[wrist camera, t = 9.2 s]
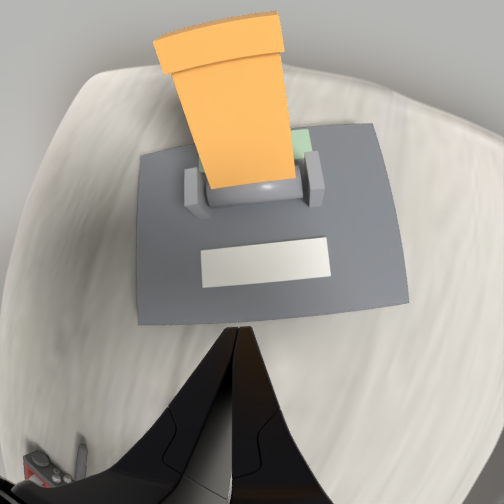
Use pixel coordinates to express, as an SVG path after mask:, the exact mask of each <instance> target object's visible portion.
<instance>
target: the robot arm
mask: <svg viewBox="0 0 504 504" xmlns="http://www.w3.org/2000/svg"><path fill="white" fill-rule="evenodd" d="M168 407H169V408H168ZM168 407H167V408H166V409H165V411H164V412H163V413H162V415H161V416H160V417H159V418H158V420H157V421H156V422H155V423H154V424H153V426H152V427H151V428H150V429H149V430H148V431H147V432H146V434H145V435H144V436H143V437H142V438H141V439H140V440H139V441H138V442H137V443H136V444H135V445H134V446H133V447H132V448H131V449H130V450H129V451H128V452H127V453H126V454H125V455H124V456H123V457H122V458H121V459H120V460H119V461H118V462H117V463H116V464H114V465H113V466H112V467H110V468H109V469H107V470H105V471H103V472H101V473H98V474H96V475H93V476H90V477H87V478H84V479H81V480H77V481H74V482H71V483H68V484H64V485H61V486H57V487H44V486H42V485H40V484H38V483H36V482H34V481H32V480H30V479H26V480H24V481H22V482H19V483H17V484H14V483H12V482H11V481H9V480H7V479H5V478H3V477H2V476H0V504H227V500H226V499H227V498H228V491H229V485H230V478H231V472H232V479H233V480H232V493H231V500H230V504H334V503H333V502H332V501H331V499H330V498H329V497H328V495H327V494H326V493H325V491H324V490H323V488H322V487H321V485H320V484H319V482H318V481H317V479H316V477H315V476H314V474H313V472H312V471H311V469H310V467H309V466H308V464H307V462H306V461H305V459H304V457H303V456H302V454H301V452H300V451H299V449H298V447H297V445H296V443H295V441H294V439H293V437H292V436H291V434H290V431H289V429H288V426H287V424H286V422H285V419H284V416H283V414H282V411H281V409H280V406H279V403H278V400H277V397H276V395H275V392H274V389H273V386H272V383H271V380H270V378H269V375H268V372H267V369H266V366H265V363H264V361H263V358H262V355H261V352H260V349H259V346H258V343H257V340H256V338H255V335H254V332H253V329H252V327H251V326H243V327H239V328H238V327H227V328H225V329H224V331H223V332H222V333H221V335H220V336H219V338H218V339H217V340H216V342H215V343H214V344H213V346H212V347H211V349H210V350H209V351H208V353H207V354H206V355H205V357H204V358H203V360H202V361H201V362H200V364H199V365H198V366H197V368H196V369H195V370H194V372H193V373H192V374H191V376H190V377H189V379H188V380H187V381H186V383H185V384H184V385H183V387H182V388H181V389H180V391H179V392H178V393H177V395H176V396H175V397H174V399H173V400H172V401H171V403H170V404H169V405H168Z"/></svg>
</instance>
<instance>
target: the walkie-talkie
mask: <svg viewBox="0 0 504 504" xmlns="http://www.w3.org/2000/svg"><path fill="white" fill-rule="evenodd" d="M87 453H88V450H87V447H86V445H85V444H80V445H79V446H78V453H77V462H76V473H75V481H77V480H81V479H84V478H85V475H86V461H87ZM23 461H24V474H25V480H26V479H30V480H32V481H34V482H36V483H38V484H40V485H42V486H44V487H57V486H61V485H64V484H68V483H71V482H74V481H72V479H71V476H69V475H65V474H64V473H62V472H61V471H60V470H59V469H58V468H56V467H55V466H54V465H53V464H52V463H51V462H50V461H49V459H48V457H47V456H46V455H45V454H43V453H41V452H39V451H38V450H37V451H35V452H32V453H30V454H27V455H25V456H23Z"/></svg>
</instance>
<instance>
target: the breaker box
mask: <svg viewBox="0 0 504 504" xmlns="http://www.w3.org/2000/svg"><path fill="white" fill-rule="evenodd" d="M290 130H291V138H292V147H293V156H294V165H295V166H298V165H299V169H300V174H301V182H302V191H303V198H297V199H288V200H279V201H270V202H262V203H254V204H246V205H238V206H230V207H223V208H216V209H212V208H211V207H210V205H209V202H208V198H207V192H206V181H207V176H206V174H205V171H204V168H203V165H202V162H201V159H200V157H199V154H198V151H197V148H196V145H195V144H190V145H185V146H181V147H176V148H172V149H167V150H163V151H159V152H155V153H151V154H147V155H143V156H141V164H140V175H139V189H138V207H137V235H136V281H137V309H138V325H184V324H211V323H231V322H248V321H262V320H275V319H287V318H298V317H308V316H318V315H327V314H335V313H344V312H352V311H359V310H367V309H374V308H381V307H388V306H394V305H401V304H407V303H409V295H408V285H407V277H406V269H405V262H404V255H403V248H402V242H401V236H400V231H399V225H398V220H397V215H396V210H395V205H394V201H393V196H392V192H391V187H390V183H389V179H388V175H387V171H386V167H385V164H384V160H383V156H382V153H381V149H380V146H379V142H378V139H377V136H376V133H375V129H374V126H373V123H367V124H343V125H327V126H314V127H303V128H293V129H290Z"/></svg>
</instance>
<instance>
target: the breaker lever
mask: <svg viewBox="0 0 504 504" xmlns="http://www.w3.org/2000/svg"><path fill="white" fill-rule="evenodd" d="M153 43H154V46H155V49H156V52H157V55H158V58H159V61H160V64H161V67H162V70H163V73H164V75H166V74H170V73H171V75H172V78H173V81H174V84H175V87H176V90H177V93H178V96H179V99H180V101H181V104H182V107H183V110H184V113H185V116H186V119H187V122H188V125H189V128H190V131H191V134H192V136H193V139H194V142H195V145H196V148H197V151H198V154H199V157H200V159H201V162H202V165H203V168H204V171H205V174H206V176H207V181H206V192H207V198H208V202H209V205H210V207H211V208H212V209H216V208H223V207H230V206H238V205H246V204H254V203H262V202H270V201H279V200H288V199H297V198H303V191H302V182H301V174H300V169H299V165H298V166H295V165H294V156H293V147H292V138H291V130H290V121H289V114H288V106H287V98H286V91H285V84H284V77H283V70H282V64H281V57H280V52H284V51H285V50H284V44H283V38H282V31H281V26H280V20H279V15H278V13H277V12H276V11H270V12H262V13H255V14H248V15H242V16H236V17H231V18H226V19H220V20H216V21H211V22H207V23H202V24H199V25H194V26H191V27H187V28H183V29H180V30H176V31H173V32H169V33H166V34H164V35H162V36H161V37H159V38H158V39H156V40H155V41H153Z"/></svg>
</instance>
